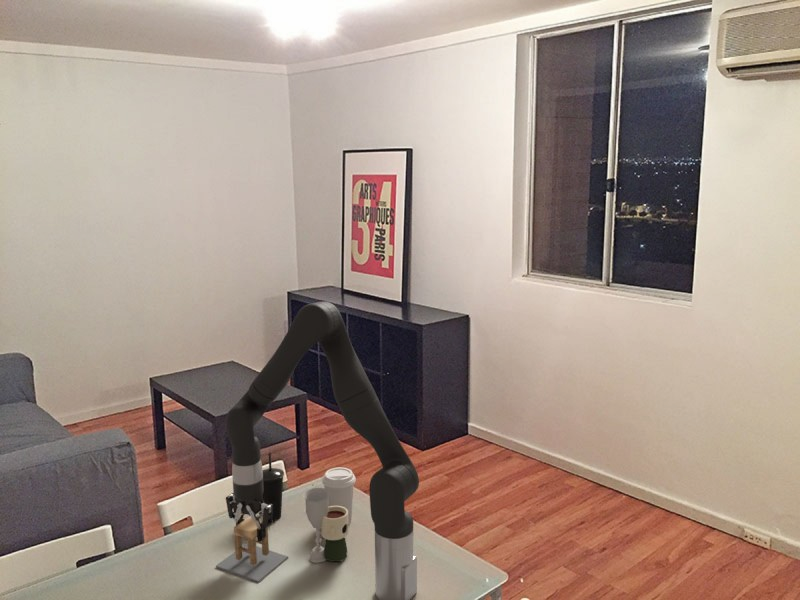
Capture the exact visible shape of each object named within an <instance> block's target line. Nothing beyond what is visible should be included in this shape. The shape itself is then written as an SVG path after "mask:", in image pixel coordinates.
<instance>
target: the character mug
mask: <svg viewBox="0 0 800 600" xmlns="http://www.w3.org/2000/svg"><path fill="white" fill-rule="evenodd" d="M349 525H350V524H348V510H347V509H346V508H344V507H342V506H330V507H329V511H328V514H327V517H325V516H324V517H323V521H322V527H321V528H320V532H321V537H323V538H324V539H325V541H324V546H323V547H324V556H325V559H327V560H328V561H332V562H341V561H344V560H345V559H347V557H348V554H349V553H348V547H347V541H346V537H347V536H348V535H349V531H350V530H349ZM327 560H326V561H327Z"/></svg>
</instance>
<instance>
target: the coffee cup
mask: <svg viewBox="0 0 800 600" xmlns="http://www.w3.org/2000/svg"><path fill="white" fill-rule="evenodd" d="M356 480H357V478H356V476H355V474H354V473H353V470H352V469H349V468H347V467H331V468H329V469H328V470H326V471H325V473H324V475H323V476H322V480H321V482H322V484H323V485H324V488H325V489H327V490H328V491H329V492H330V495H329V497H328V506H329V507H330V506H342V507H344V508H346V509H347V510H348V524H349V525H350V524H351V523H352V515H353V503H354V502H353V500H354V486H355V482H356Z"/></svg>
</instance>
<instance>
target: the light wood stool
mask: <svg viewBox="0 0 800 600" xmlns="http://www.w3.org/2000/svg"><path fill="white" fill-rule="evenodd" d="M244 519H245V520H244V521H243V522H241V523H240V524H238V525H237V526H236V525H235V526H234V527H233V535H234V536H233V537H234V552H235V554H236V559H237V560H240V559H242V551H243V552H246V553H249V554H250V564H252V565H255V564H256V563H257V553H256V546H257V544H259V545H261V548H262V555H265V556H266V555H268V554H269V547H270V546H269V530H268V528H269V526H268V527H267V528H266V537H265V539H264V540H262V541H261V542H259V541H257V526H256V524H255V522H254V521H253V520H252V518H251V516H248V517H246V518H244ZM259 521H260V523H261V520H260V519H259ZM242 538H243V539H247V543H248V549H246V548H243V547H242V546H243V544H242Z"/></svg>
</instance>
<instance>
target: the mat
mask: <svg viewBox="0 0 800 600" xmlns="http://www.w3.org/2000/svg"><path fill="white" fill-rule="evenodd" d="M242 547H243V548H246V549H248V542H246V543H245V544H242ZM256 553H257V563H256V564H255V565H252V564H250V554H249V553H246V552H243V551H242V559H240V560H237V559H236V554H235V551H234V552H232V553H231V554H230V555H229V556H227V557H226V558H224V559H223V560H222V561H220V562H219V563H218V564H216V565H215V568H216V569H219V570H222V571H225V572H228V573H231V574H233V575H236V576H239V577H242V578H244V579H247V580H250V581H253V582H255V583H258V584H259V583H260V582H261V581H263V580H264V579H266V578H267V577H268V576H269V575H270V574H272V573H273V571H275V570H276V569H277V568H278V567H279V566H281V565H282V564H283V563H285V561H287V560H288V559H289V556H288V555H285V554H282V553H279V552H275V551H272V550H269V554H268V555H266V556H265V555H262V546H261V547H260V546H257V545H256Z"/></svg>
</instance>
